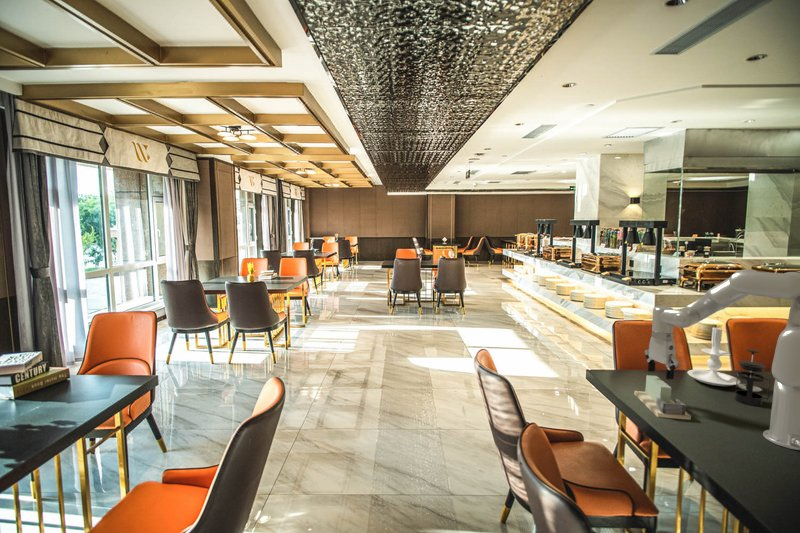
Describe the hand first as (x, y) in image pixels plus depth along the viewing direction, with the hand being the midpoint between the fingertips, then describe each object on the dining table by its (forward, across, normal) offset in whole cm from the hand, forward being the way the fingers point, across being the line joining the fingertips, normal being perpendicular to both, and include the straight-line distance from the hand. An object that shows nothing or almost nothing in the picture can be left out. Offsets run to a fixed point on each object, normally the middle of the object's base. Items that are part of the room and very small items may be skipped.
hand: (660, 375), depth 175 cm
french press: (+13, -4, -41) cm, 43 cm away
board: (+12, -3, +2) cm, 13 cm away
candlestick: (+13, +19, -47) cm, 53 cm away
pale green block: (+11, +1, 0) cm, 11 cm away
